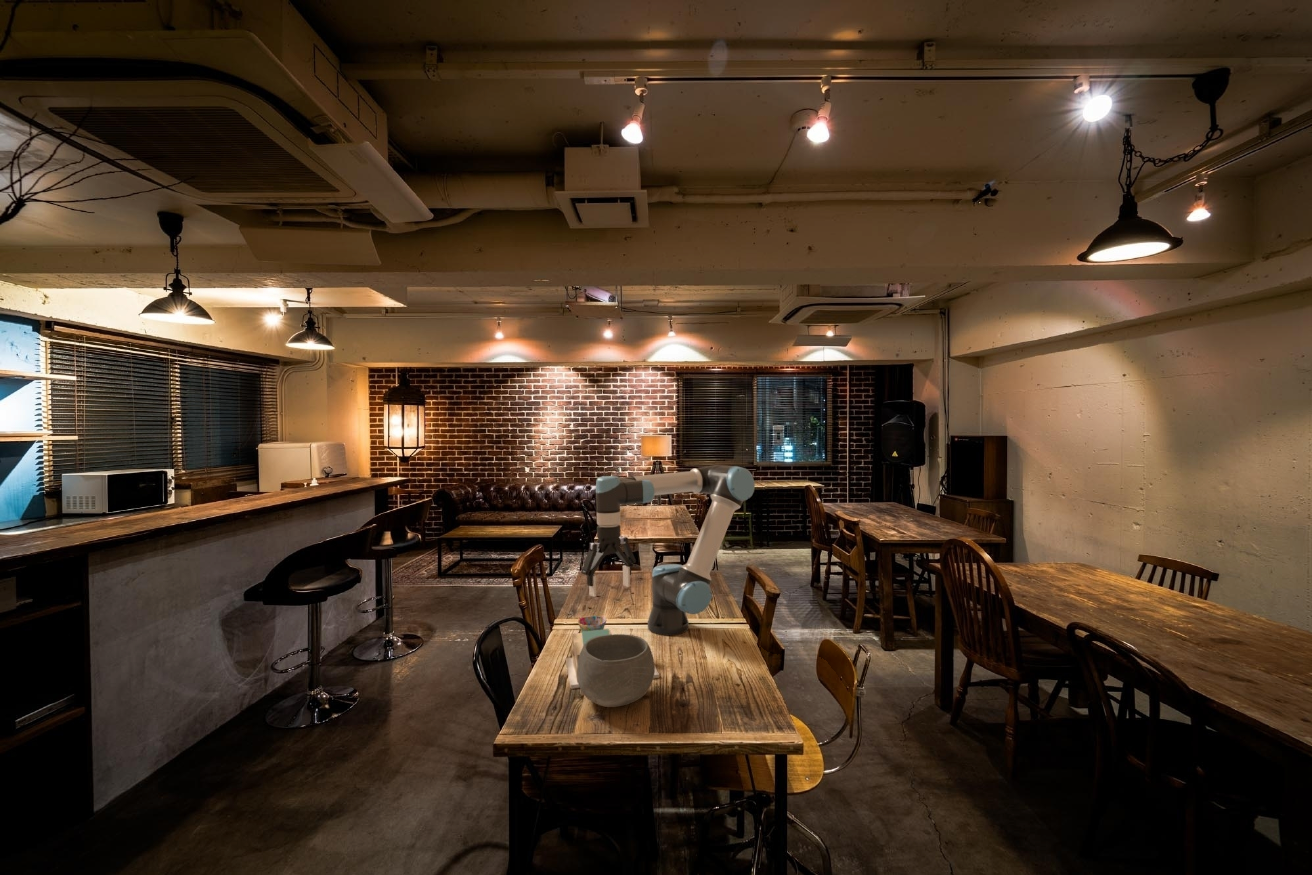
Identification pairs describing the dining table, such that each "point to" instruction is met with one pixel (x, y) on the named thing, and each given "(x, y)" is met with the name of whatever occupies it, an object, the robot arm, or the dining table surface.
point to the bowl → (615, 669)
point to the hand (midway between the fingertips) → (610, 590)
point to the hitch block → (573, 662)
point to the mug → (591, 623)
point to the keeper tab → (593, 634)
